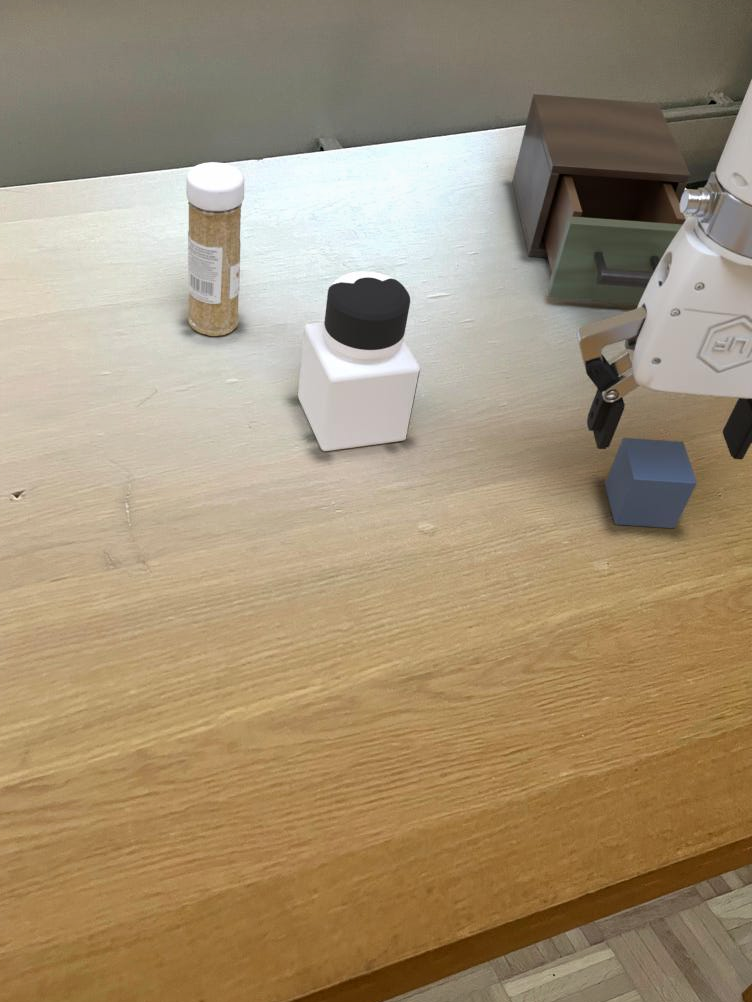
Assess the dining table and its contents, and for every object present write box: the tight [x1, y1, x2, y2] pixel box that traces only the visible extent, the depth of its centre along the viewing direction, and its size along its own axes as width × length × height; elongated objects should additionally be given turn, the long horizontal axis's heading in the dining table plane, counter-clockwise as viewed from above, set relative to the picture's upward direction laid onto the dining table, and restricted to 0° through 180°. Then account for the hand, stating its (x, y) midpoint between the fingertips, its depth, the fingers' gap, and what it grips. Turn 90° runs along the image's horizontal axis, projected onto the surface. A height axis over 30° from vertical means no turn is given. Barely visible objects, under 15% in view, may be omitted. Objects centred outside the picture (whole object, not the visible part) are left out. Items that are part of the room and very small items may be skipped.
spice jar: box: [185, 161, 245, 337], centre depth 87 cm, size 5×5×14 cm
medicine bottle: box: [297, 270, 421, 452], centre depth 81 cm, size 7×7×12 cm
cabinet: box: [511, 93, 691, 259], centre depth 104 cm, size 15×13×9 cm
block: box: [604, 437, 698, 529], centre depth 79 cm, size 5×5×5 cm
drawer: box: [543, 174, 687, 305], centre depth 97 cm, size 18×11×7 cm, turn 178°
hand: (665, 441), depth 76 cm, fingers open, 9 cm apart
